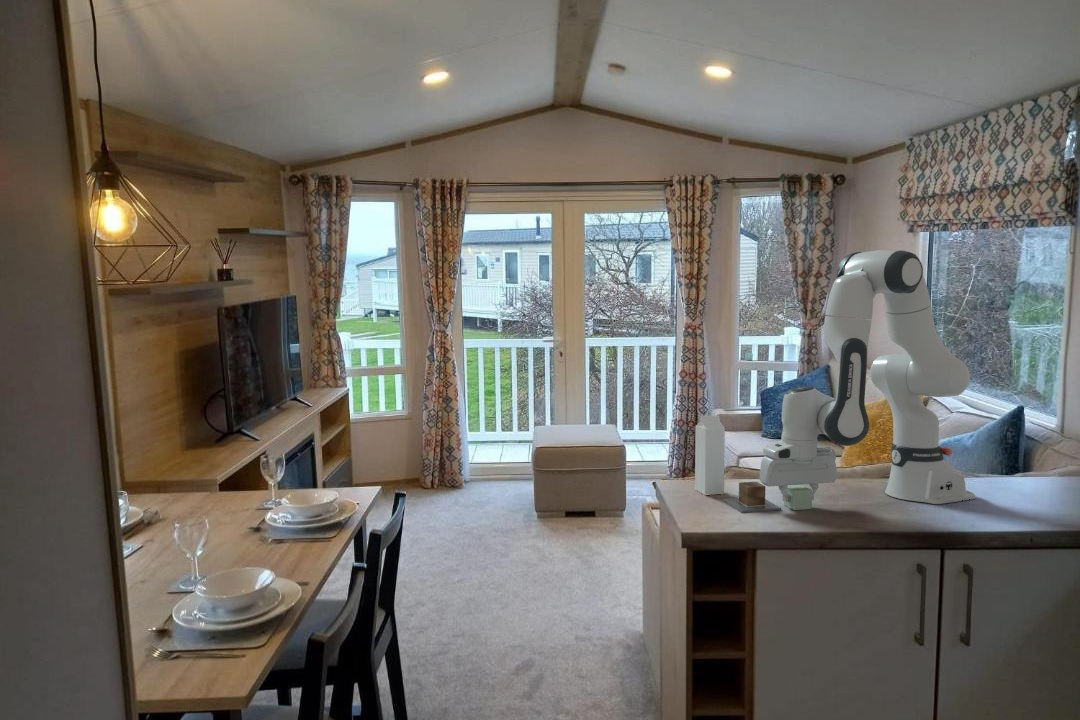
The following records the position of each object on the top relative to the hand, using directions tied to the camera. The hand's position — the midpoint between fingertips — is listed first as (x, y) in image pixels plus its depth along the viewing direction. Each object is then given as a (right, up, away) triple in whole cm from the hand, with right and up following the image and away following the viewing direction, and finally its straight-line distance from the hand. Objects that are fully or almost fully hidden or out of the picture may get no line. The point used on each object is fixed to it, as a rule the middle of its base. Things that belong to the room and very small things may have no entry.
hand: (798, 500), depth 189 cm
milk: (-20, -1, +15) cm, 25 cm away
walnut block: (-12, -1, +2) cm, 12 cm away
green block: (0, -2, 0) cm, 2 cm away
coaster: (-12, -2, +2) cm, 12 cm away
